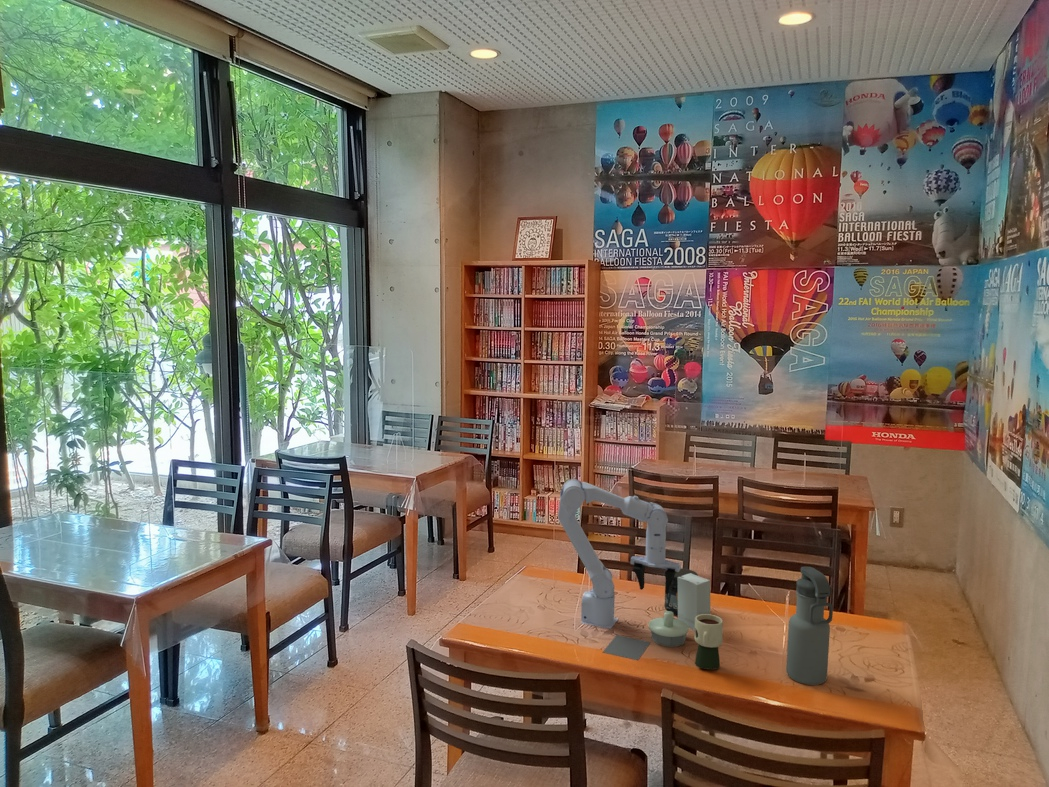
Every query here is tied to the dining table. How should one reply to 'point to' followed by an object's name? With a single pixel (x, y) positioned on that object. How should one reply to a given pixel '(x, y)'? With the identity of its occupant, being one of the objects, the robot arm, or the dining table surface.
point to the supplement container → (675, 591)
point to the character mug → (708, 640)
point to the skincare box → (692, 598)
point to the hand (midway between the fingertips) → (654, 590)
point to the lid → (668, 626)
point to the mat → (626, 647)
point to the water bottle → (809, 630)
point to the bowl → (668, 640)
